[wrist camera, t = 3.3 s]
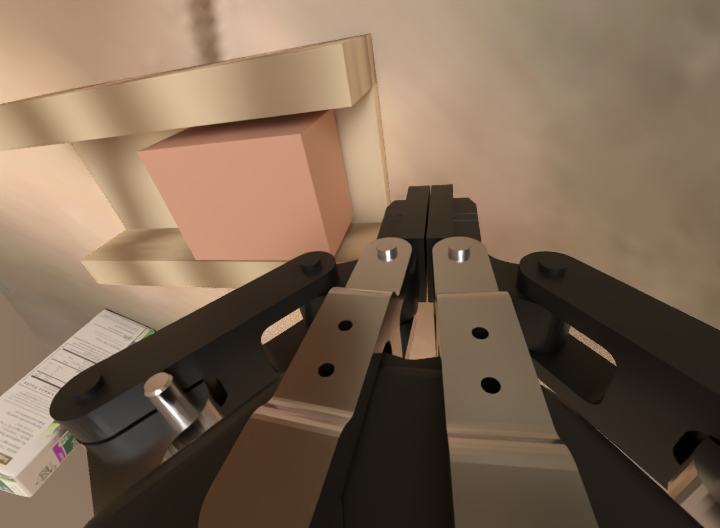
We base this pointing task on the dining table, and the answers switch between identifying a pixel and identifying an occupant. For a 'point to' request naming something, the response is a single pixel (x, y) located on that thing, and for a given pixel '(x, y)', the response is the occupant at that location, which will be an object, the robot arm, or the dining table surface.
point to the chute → (196, 108)
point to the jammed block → (255, 186)
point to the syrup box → (35, 393)
